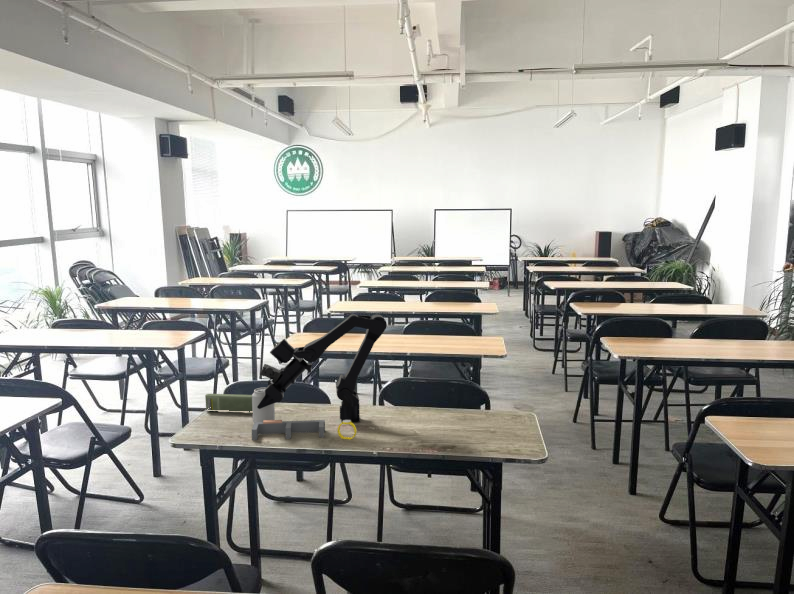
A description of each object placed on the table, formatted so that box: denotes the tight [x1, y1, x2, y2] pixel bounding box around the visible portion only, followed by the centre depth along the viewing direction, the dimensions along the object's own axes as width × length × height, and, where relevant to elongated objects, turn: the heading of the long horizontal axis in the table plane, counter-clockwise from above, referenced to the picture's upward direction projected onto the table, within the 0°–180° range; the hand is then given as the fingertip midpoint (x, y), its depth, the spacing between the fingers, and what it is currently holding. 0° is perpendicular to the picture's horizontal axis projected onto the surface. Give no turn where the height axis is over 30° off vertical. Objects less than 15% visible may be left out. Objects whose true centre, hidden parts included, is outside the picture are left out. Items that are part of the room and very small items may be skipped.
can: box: [251, 387, 276, 423], centre depth 200 cm, size 8×8×12 cm
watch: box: [337, 420, 357, 440], centre depth 185 cm, size 6×3×6 cm, turn 77°
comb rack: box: [251, 419, 326, 441], centre depth 188 cm, size 23×7×4 cm, turn 97°
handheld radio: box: [204, 393, 252, 412], centre depth 213 cm, size 7×3×25 cm
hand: (259, 404), depth 199 cm, fingers closed on can, 7 cm apart
